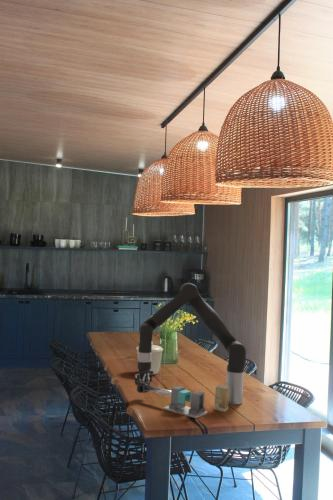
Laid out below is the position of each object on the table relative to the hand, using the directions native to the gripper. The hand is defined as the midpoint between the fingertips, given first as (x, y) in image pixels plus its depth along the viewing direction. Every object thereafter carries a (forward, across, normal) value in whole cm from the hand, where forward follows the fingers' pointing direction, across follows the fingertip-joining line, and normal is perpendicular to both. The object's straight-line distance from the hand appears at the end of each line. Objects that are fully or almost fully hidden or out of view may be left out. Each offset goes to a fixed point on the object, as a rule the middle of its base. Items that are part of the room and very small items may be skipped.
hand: (143, 391), depth 276 cm
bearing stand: (+5, 0, +28) cm, 28 cm away
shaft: (0, 0, +11) cm, 11 cm away
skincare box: (+5, -16, +40) cm, 43 cm away
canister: (+4, -50, -35) cm, 61 cm away
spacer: (0, 0, +27) cm, 27 cm away
